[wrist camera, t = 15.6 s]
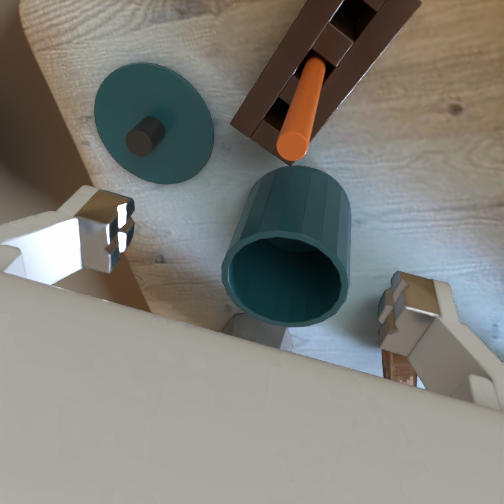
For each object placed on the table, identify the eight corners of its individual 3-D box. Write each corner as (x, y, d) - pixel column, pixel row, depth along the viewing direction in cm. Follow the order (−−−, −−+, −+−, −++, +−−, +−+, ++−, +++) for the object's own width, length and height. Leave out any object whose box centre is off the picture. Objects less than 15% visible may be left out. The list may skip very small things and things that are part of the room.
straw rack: (412, -11, 29) (422, 3, 24) (298, 136, 37) (290, 166, 32) (349, -66, 28) (347, -63, 23) (246, 98, 36) (229, 124, 31)
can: (318, 146, 37) (307, 210, 29) (368, 231, 42) (370, 308, 33) (228, 193, 42) (196, 259, 34) (281, 265, 46) (264, 338, 38)
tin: (380, 280, 45) (383, 341, 39) (411, 280, 44) (420, 342, 38) (381, 369, 54) (384, 431, 47) (407, 370, 53) (414, 433, 46)
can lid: (84, 61, 37) (56, 75, 33) (207, 58, 34) (191, 73, 31) (117, 177, 44) (97, 198, 40) (222, 180, 41) (210, 203, 38)
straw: (324, 35, 32) (297, 125, 18) (332, 52, 32) (313, 152, 19) (308, 46, 32) (270, 140, 19) (316, 62, 33) (286, 166, 19)
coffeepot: (198, 315, 54) (144, 451, 40) (255, 289, 49) (215, 433, 36) (269, 383, 60) (243, 521, 46) (326, 366, 56) (315, 514, 42)
